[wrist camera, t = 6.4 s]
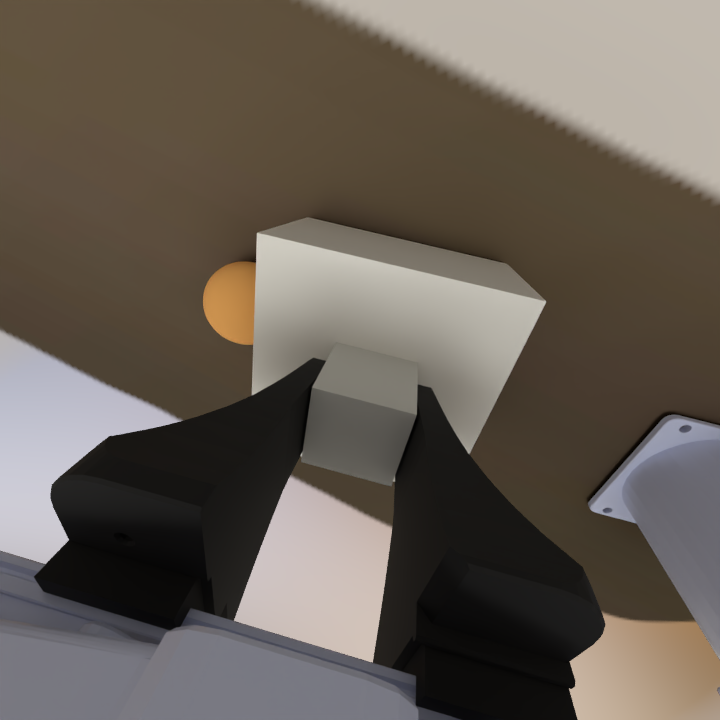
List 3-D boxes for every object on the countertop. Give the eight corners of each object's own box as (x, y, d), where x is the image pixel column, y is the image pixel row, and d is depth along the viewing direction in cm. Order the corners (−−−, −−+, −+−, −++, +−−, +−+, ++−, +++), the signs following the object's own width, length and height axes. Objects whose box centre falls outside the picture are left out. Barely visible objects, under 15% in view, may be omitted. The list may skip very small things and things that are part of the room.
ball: (240, 284, 13) (182, 252, 14) (237, 369, 15) (187, 333, 16) (311, 273, 16) (256, 248, 17) (301, 345, 18) (252, 316, 19)
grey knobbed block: (507, 263, 14) (591, 343, 7) (441, 420, 19) (454, 565, 12) (307, 217, 15) (202, 250, 8) (290, 381, 20) (214, 497, 12)
